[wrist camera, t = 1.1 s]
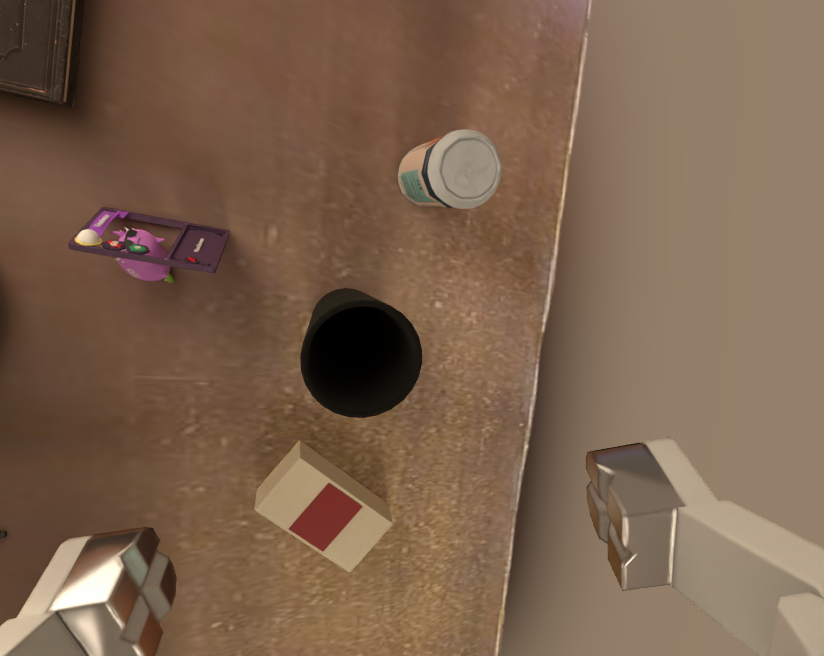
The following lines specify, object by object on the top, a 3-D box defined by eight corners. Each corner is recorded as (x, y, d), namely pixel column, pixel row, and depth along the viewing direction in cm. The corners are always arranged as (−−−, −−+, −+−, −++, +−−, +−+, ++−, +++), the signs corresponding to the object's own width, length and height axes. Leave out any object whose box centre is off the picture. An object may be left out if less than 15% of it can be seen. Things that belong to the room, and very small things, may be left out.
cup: (407, 338, 49) (442, 380, 38) (328, 382, 48) (339, 439, 37) (364, 258, 47) (387, 277, 35) (280, 304, 46) (276, 338, 35)
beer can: (465, 167, 47) (522, 156, 35) (435, 218, 47) (480, 224, 36) (416, 133, 46) (458, 111, 34) (385, 186, 46) (416, 181, 34)
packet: (386, 502, 52) (393, 524, 48) (346, 548, 52) (350, 573, 49) (299, 439, 49) (300, 458, 45) (256, 488, 49) (254, 511, 46)
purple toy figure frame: (216, 259, 38) (66, 232, 36) (209, 325, 41) (69, 304, 39) (230, 221, 44) (102, 197, 42) (224, 281, 46) (102, 261, 44)
